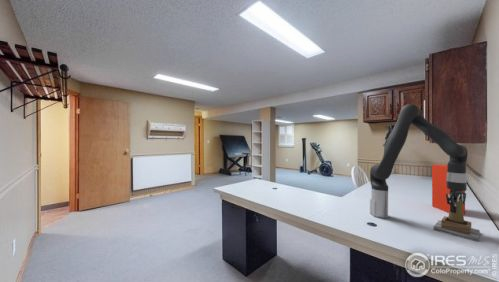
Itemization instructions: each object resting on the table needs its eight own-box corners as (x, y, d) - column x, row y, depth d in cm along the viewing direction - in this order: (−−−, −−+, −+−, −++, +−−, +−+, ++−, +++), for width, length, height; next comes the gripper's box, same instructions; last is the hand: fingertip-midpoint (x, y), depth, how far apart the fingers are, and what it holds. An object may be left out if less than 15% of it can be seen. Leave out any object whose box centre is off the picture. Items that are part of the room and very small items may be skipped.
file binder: (451, 214, 133) (451, 167, 133) (431, 206, 150) (432, 164, 150) (465, 215, 132) (465, 167, 132) (443, 207, 149) (443, 164, 149)
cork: (445, 217, 110) (445, 198, 110) (454, 217, 110) (454, 197, 110) (457, 222, 104) (457, 201, 104) (467, 221, 104) (467, 201, 104)
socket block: (477, 241, 95) (477, 230, 95) (433, 229, 108) (433, 219, 108) (479, 232, 105) (479, 222, 105) (438, 222, 118) (438, 213, 118)
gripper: (457, 183, 101) (457, 216, 101) (473, 181, 106) (473, 213, 106) (439, 180, 108) (439, 211, 108) (454, 179, 113) (454, 208, 113)
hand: (456, 211), depth 107 cm, fingers closed on cork, 4 cm apart
